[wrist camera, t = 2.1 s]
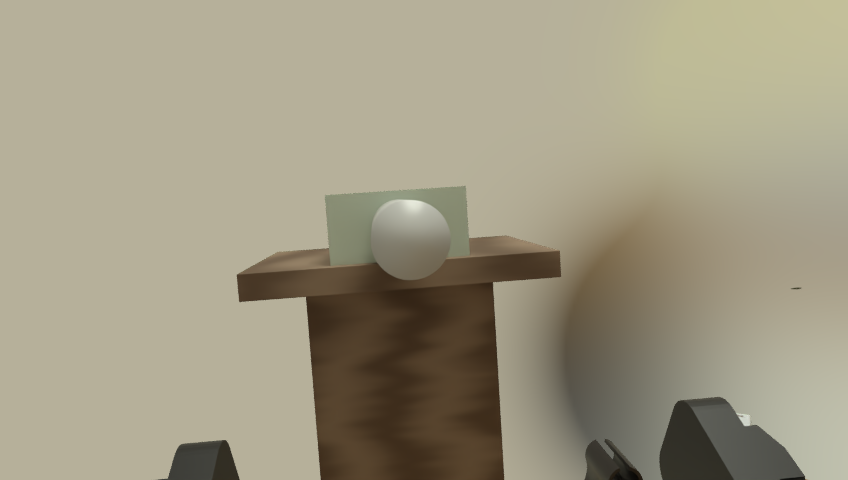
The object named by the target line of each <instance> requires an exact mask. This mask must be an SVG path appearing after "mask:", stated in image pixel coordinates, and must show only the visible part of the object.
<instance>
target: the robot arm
mask: <svg viewBox="0 0 848 480" xmlns="http://www.w3.org/2000/svg"><path fill="white" fill-rule="evenodd" d="M660 470H661V475H662V479H663V480H805V476H804V474H803V473H802V471H801V470H800V469H799V467H798V466H797V464H796V463H795V462H794V460H793V459H792V457H791V456H790V455H789V453H788V452H787V451H786V449H785V448H784V447H783V446H782V445H781V444H779V443H778V442H777V441H776V440H774V439H773V438H772V437H771V436H770V435H768V434H767V433H766V432H765V431H763V430H762V429H761V428H760V427H759V426H757V425H751V426H744V425H743V423H742V422H741V420H740V419H739V417H738V416H737V414H736V413H735V411H734V409H733V408H732V407H731V405H730V404H729V403H728V402H727V401H726V400H725V399H723V398H721V397H714V398H704V399H692V400H681V401H678V402H677V403H676V404H675V406H674V409H673V412H672V415H671V419H670V422H669V425H668V428H667V432H666V435H665V438H664V441H663V444H662V448H661V451H660ZM160 480H239V476H238V473H237V470H236V466H235V463H234V460H233V457H232V454H231V451H230V447H229V444H228V443H227V441H226V440H222V441H209V442H199V443H187V444H181V445H180V446H179V447H178V449H177V451H176V453H175V456H174V460H173V463H172V466H171V470H170V473H169V477H168V479H160Z"/></svg>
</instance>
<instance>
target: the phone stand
mask: <svg viewBox="0 0 848 480" xmlns="http://www.w3.org/2000/svg"><path fill="white" fill-rule="evenodd" d="M605 443H606V444H607V445H608V446H609V447H610V449H611V450H612V451H613V452H614V458H613V460H612V459H611V457H610V456H609V455H608V454H607V453H606V451H605V450H604V449H603V448H602V447H601V445H600V444H599V443H598V442H597V441H596V440H594V441H592V442H591V443H590V444H589V445H588V447H587V449H586V454H585V456H586V461H587V473H586V478H585V480H643V479H642V476H641V474H640V473H639V472H638V471H637V470H636V468H635V467H633V465H632V464H631V463H630V462H629V461H628V460H627V459H626V457H625V456H624V455H623V454H622V453H621V452H620V451H619V449H618V448H617V447H616V446H615V445H614V444H613V443H612V442H611V441H609V440H607V439H605Z"/></svg>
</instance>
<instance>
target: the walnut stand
mask: <svg viewBox="0 0 848 480" xmlns="http://www.w3.org/2000/svg"><path fill="white" fill-rule="evenodd" d="M469 250H470V256H457V257H447V258H446V260H445V261H444V263H443V264H442V266H441V267H440V268H439V269H438V270H437V271H435V272H434V273H433V274H431V275H429V276H427V277H425V278H422V279H418V280H403V279H399V278H396V277H394V276H392V275H390V274H388V273H387V272H386V271H384V270H383V269H382V268H381V267H380V265H379V264H378V263H377V262H375V263H362V264H348V265H335V266H330V253H329V248H327V249H313V250H299V251H286V252H277V253H275V254H273V255H272V256H270V257H268V258H266V259H264V260H262V261H261V262H259V263H257V264H255V265H253V266H252V267H250V268H248V269H246V270H244V271H243V272H241V273H239V274H237V282H238V293H239V302H242V301H243V302H244V301H257V300H269V299H283V298H296V297H306V302H307V314H308V326H309V339H310V351H311V364H312V376H313V388H314V401H315V413H316V425H317V438H318V451H319V462H320V475H321V480H504V469H503V450H502V433H501V416H500V400H499V399H500V398H499V381H498V365H497V347H496V330H495V312H494V296H493V282H502V281H513V280H526V279H527V280H528V279H540V278H552V277H561V269H560V268H561V267H560V251H559V250H555V249H552V248H548V247H545V246H541V245H537V244H534V243H531V242H527V241H523V240H520V239H516V238H513V237H509V236H495V237H481V238H469Z"/></svg>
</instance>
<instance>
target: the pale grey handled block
mask: <svg viewBox="0 0 848 480" xmlns="http://www.w3.org/2000/svg"><path fill="white" fill-rule="evenodd" d="M325 202H326V214H327V227H328V240H329V253H330V266H335V265H348V264H362V263H375V262H377V263H378V264H379V265H380V267H381V268H382V269H383V270H384V271H386V272H387V273H388V274H390V275H392V276H394V277H396V278H399V279H403V280H418V279H422V278H425V277H427V276H429V275H431V274H433V273H434V272H435V271H437V270H438V269H439V268H440V267H441V266H442V264H443V263H444V261H445V260H446V258H447V257H457V256H470V250H469V235H468V218H467V201H466V187H465V186H461V187H445V188H431V189H416V190H402V191H401V190H399V191H386V192H385V191H384V192H369V193H353V194H338V195H325Z"/></svg>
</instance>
